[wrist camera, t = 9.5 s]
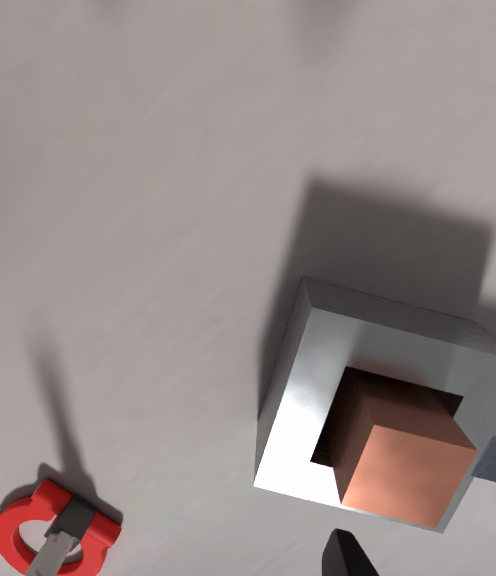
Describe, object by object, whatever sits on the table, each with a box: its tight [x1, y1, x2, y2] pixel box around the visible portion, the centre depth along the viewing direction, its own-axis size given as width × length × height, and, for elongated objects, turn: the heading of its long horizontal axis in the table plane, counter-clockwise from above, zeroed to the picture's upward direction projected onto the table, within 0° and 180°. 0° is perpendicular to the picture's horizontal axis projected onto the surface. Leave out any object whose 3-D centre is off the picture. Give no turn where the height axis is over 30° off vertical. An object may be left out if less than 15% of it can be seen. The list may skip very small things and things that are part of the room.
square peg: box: [324, 366, 478, 528], centre depth 18 cm, size 4×4×8 cm
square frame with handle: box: [254, 277, 496, 534], centre depth 19 cm, size 20×10×5 cm, turn 76°
